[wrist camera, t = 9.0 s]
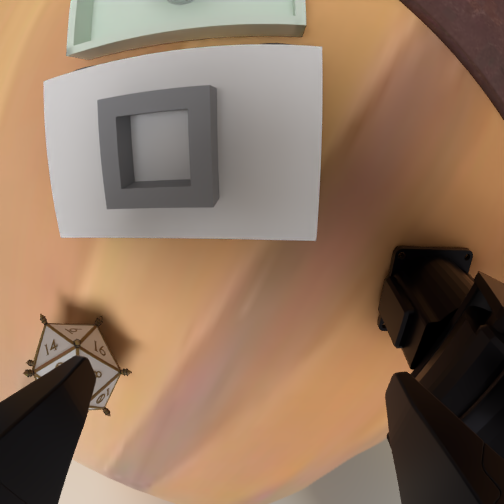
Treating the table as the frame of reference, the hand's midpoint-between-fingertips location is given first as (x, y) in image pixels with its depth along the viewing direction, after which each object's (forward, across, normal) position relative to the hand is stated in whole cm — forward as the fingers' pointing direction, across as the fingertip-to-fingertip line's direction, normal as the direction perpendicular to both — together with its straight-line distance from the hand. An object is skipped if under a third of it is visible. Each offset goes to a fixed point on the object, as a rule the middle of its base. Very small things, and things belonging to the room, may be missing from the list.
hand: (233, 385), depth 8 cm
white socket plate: (+12, +4, -6) cm, 14 cm away
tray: (+12, +4, -15) cm, 20 cm away
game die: (+12, +14, +10) cm, 21 cm away
